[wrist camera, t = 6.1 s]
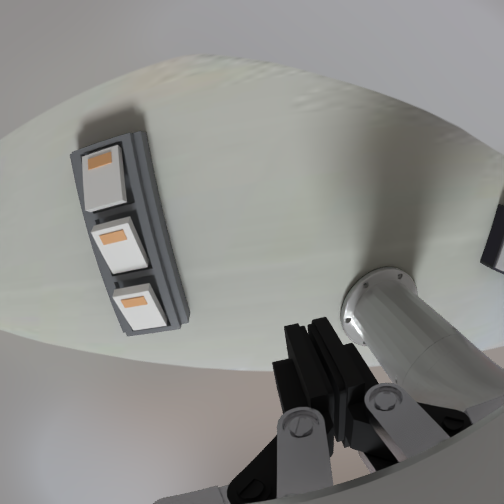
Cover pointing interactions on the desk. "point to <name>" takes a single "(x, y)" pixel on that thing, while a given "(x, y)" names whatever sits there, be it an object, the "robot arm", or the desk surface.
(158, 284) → the rocker switch panel
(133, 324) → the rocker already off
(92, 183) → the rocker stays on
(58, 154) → the desk surface
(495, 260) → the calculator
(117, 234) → the rocker middle
